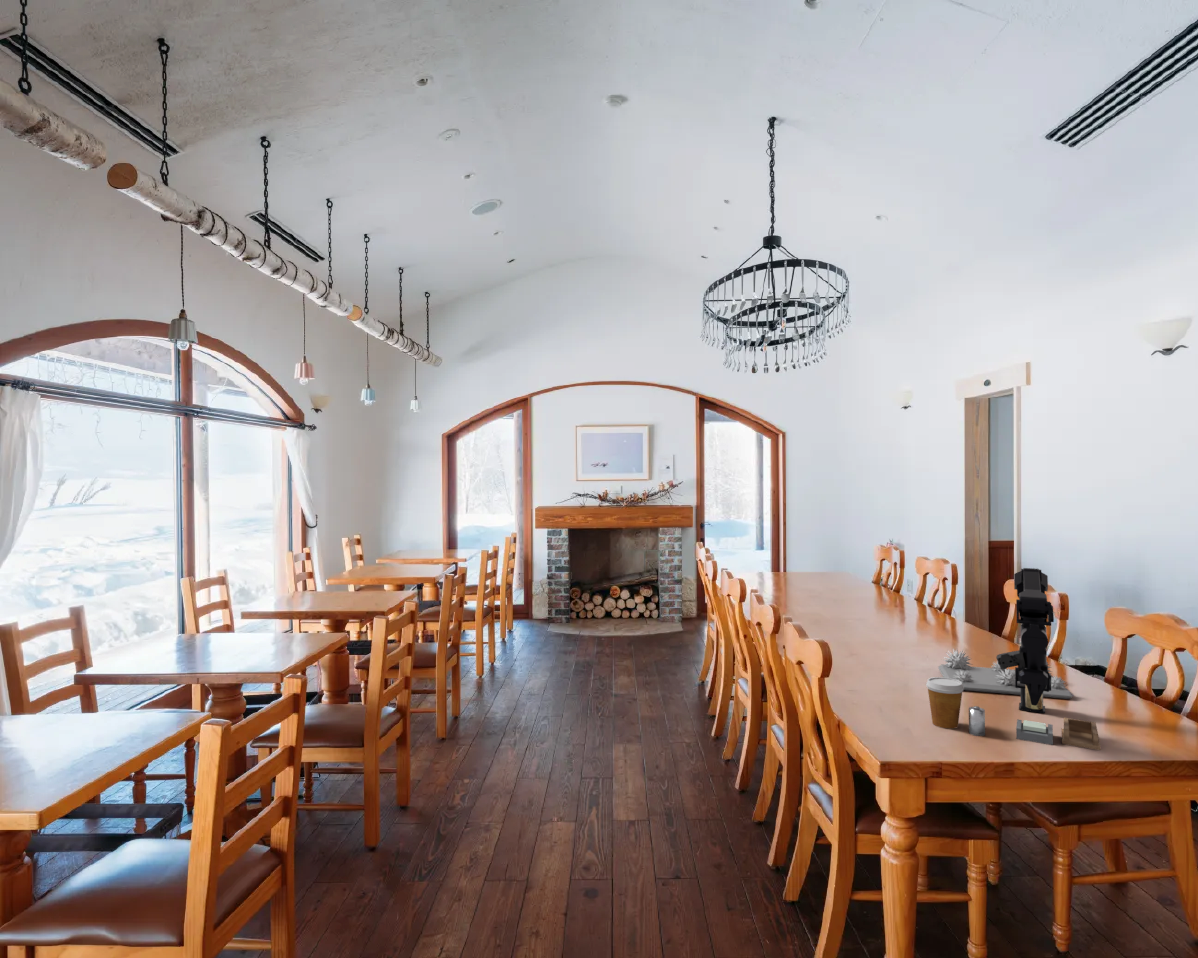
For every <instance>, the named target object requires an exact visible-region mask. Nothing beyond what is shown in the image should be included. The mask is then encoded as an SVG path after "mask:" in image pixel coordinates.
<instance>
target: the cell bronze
mask: <svg viewBox="0 0 1198 958" xmlns="http://www.w3.org/2000/svg"><path fill="white" fill-rule="evenodd" d="M1025 700H1026V707H1028V708H1031V709H1043V706H1044V699H1043V700H1042V695H1041V697H1040V700H1039V702H1038V704H1037V705H1036V706H1034V705H1032V704H1031V700H1030V696H1029V692H1028V688H1027V686H1026V685H1025Z"/></svg>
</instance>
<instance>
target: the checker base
mask: <svg viewBox="0 0 1198 958" xmlns="http://www.w3.org/2000/svg"><path fill="white" fill-rule="evenodd" d="M1053 726H1054V725H1053V724H1051V723H1047V726H1046V733H1043V732H1037V731H1030V730H1024V729H1023V720H1022V719H1019V718H1018V719H1017V720H1016V728H1015V729H1016V730H1015V731H1016V732H1015V733H1016V736H1015V737H1016V739H1017V740H1020V741H1026V742H1033V743H1040V744H1046V745H1051V746H1054V737H1053V736H1054V730H1053V729H1054V727H1053Z"/></svg>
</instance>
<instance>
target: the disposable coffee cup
mask: <svg viewBox="0 0 1198 958" xmlns="http://www.w3.org/2000/svg"><path fill="white" fill-rule="evenodd" d="M926 681H927V682H925V686H926V688H927V693H928V699H929V701H928V702H929V706H930V713H931V714H930V715H931V720H932V724H933V725H934V726H936V727H938V728H943V729H950V730H951V729H956V728H958V727H959V720H960V714H961V713H960V712H961V706H962V704H961V703H962V697H963V692H964V691H965V690H964V687H963V685H962V682H960V681H958V680H955V679H951V678H944V677H943V676H938V677H937V676H935V677H929V678H927V680H926Z"/></svg>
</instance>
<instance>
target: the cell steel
mask: <svg viewBox="0 0 1198 958" xmlns="http://www.w3.org/2000/svg"><path fill="white" fill-rule="evenodd" d="M968 733H969V734H970V735H972V736H976V737H985V736H986V710H985V709H984V708H981V707H980V706H979V705H978V706H977V705H973V706H969V707H968Z"/></svg>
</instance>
